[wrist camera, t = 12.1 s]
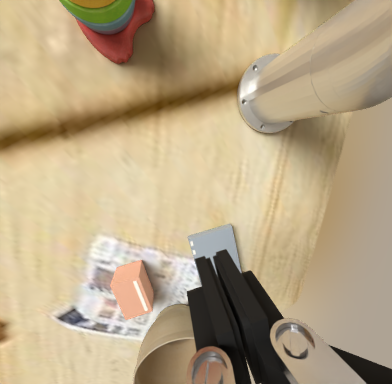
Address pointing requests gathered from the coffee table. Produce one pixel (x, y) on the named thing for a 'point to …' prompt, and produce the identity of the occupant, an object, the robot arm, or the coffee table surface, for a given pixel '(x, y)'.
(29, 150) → the coffee table surface
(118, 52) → the stacking bear
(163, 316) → the planter bowl
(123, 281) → the peach rectangular block
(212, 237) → the board
